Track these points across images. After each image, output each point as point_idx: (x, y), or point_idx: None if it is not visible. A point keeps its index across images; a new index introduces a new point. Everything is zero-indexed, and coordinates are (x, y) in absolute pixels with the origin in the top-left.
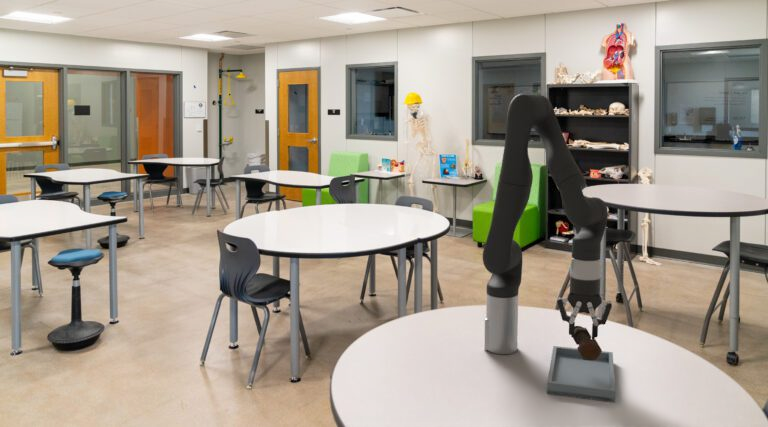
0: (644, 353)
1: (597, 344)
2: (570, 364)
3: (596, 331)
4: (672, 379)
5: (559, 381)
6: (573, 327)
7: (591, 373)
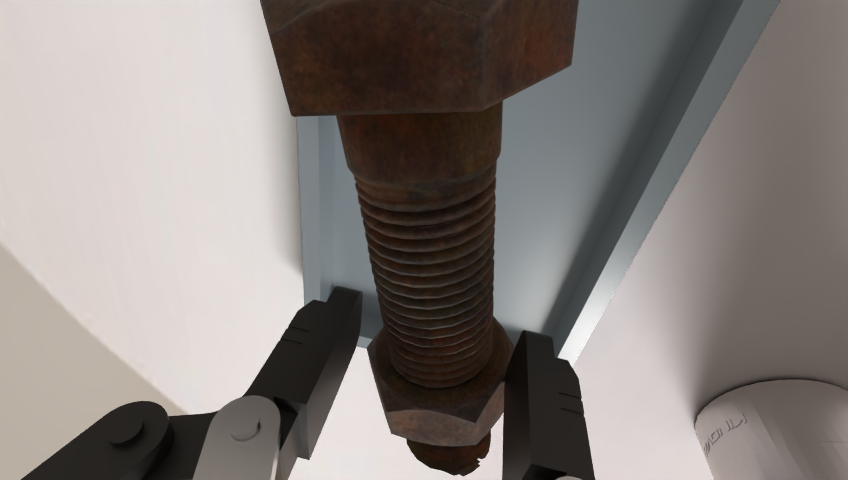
0: (222, 353)
1: (274, 1)
2: (504, 269)
3: (290, 347)
4: (102, 172)
5: (638, 57)
6: (541, 425)
7: None
